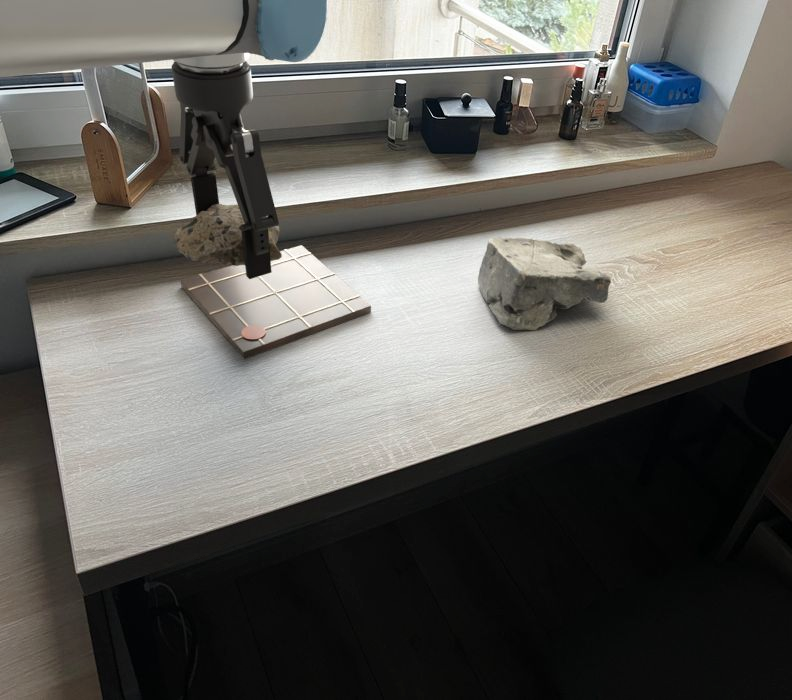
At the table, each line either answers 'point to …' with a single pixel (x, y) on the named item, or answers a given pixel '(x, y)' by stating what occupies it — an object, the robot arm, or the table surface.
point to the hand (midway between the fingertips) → (233, 249)
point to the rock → (218, 237)
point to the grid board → (274, 301)
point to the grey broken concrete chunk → (536, 280)
